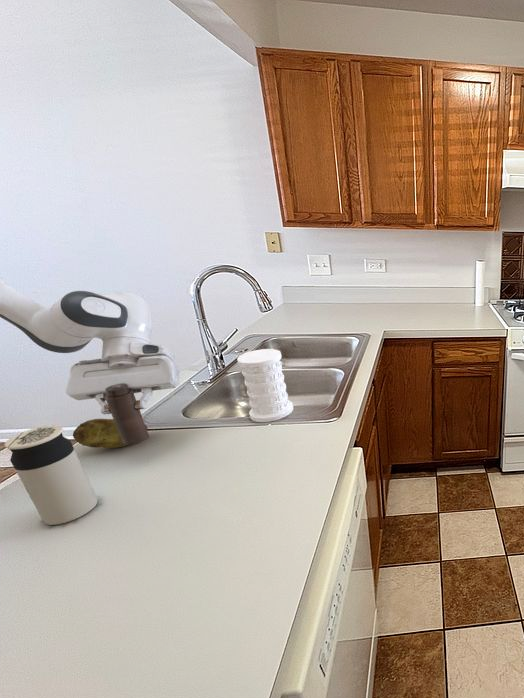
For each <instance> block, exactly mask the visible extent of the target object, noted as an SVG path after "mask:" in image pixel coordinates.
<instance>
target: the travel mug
mask: <svg viewBox="0 0 524 698" xmlns="http://www.w3.org/2000/svg"><path fill="white" fill-rule="evenodd" d="M63 430H64V428H63V427H62V426H60V425H57V424H56V425H54V424H53V425H52V424H51V425H44V426H39V427H34V428H31V429H28V430H25V431H22V432H19V433H18V434H17V433H16V435H13V436H12V437H10V438H8V439H7V440H6V441H5V442H4V447H5V448H6V449H8V450H9V451H10V452H11V456H10V460H9V461H10V463H11V465H12V467H13V468H14V471H15V472H16V474H17V476H18V478H19V479H20V481H21V483H22V485H23V487H24V488H25V490H26V492H27V494H28V496H29V498H30V500H31V501H32V503H33V505H34V507H35V508H36V509H35V510H37V512H38V515H39V516H40V518H41V520H42V521H43V523H44V524H45V525H48V526H52V525H56V526H57V525H62V524H65V523H68V522H71V521H74V520H77V519H78V518H81V517H83V516H84V515H86V514H87V513H89V512H90V511H92V510H93V509H94V508H95V507H96V505H97V504H98V501H99V500H98V496H97V495H96V493H95V490H94V489H93V486H92V485H91V482H90V480H89V477H88V475H87V473H86V472H85V469H84V467H83V465H82V463H81V461H80V459H79V456H78V454H77V451H76V450H75V447H74V446H73V443H72V440H70V439H68V438H67V437H65V436H64V435H63Z"/></svg>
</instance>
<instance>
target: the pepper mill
mask: <svg viewBox="0 0 524 698" xmlns="http://www.w3.org/2000/svg"><path fill="white" fill-rule="evenodd" d="M105 391H106V393H107V394H106V395H105V399H106V401H105V402H106V403H107V404H108V407H109V409H110V412H111V414H110V415H111V417H112V419H114V422H115V424H116V427H117V429H118V432H119V434H120V437H121V439H122V442H123V443H124V444H129V445H134V444H139V443H141V442H143V441H145V440H146V439H148V437H149V431H147V429H146V426H147V425H146V423H145V421H144V417H143V415H142V412H141V409H139V410H137V409H136V408H135V401H137V399H136V395H135V393H133V390H132V389H129V388H128V385H127V384H124V383H122V384H115V385H112V386H109V387H107V388H106V389H105ZM145 425H146V426H145Z"/></svg>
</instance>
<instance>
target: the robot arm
mask: <svg viewBox="0 0 524 698" xmlns="http://www.w3.org/2000/svg"><path fill="white" fill-rule="evenodd" d="M152 314H153V313H152V309H151V306H150V305H149V303H148V302H147V300H146V299H145V298H143V297H142V296H140V295H138V294H135V293H131V292H128V291H127V292H126V291H118V292H114V293H109V294H107V293H106V294H102V293H95V292H92V291H88V290H74V291H71V292H68V293H66V294H65V295H63V296H62V297H61V298H59V299H58V300H57V301H55V302H54V303H53V304H52V305H51V306H50V307H45V306H43V305H41V304H39V303H37V302H36V301H35V300H33V299H31V298H30V297H28V296H26V295H25V294H23V293H22V292H21V291H19V290H17V289H16V288H14V287H12V286H11V285H10V284H8V283H6V281H4V280H3V279H2V278H1V277H0V319H3V320H4V321H6V322H7V323H9V324H11V325H13V326H14V327H16V328H17V329H19V330H20V331H21V332H23V333H24V334H25V335H26V336H27V337H28V338H29V339H30V340H31V341H32V342H33V343H34V344H36V345H37V346H39V347H40V348H42V349H44V350H46V351H50V352H53V353H58V354H71V353H76V352H79V351H81V350H82V349H84V348H85V347H86V346H87V345H88V344H89V343H90V342H91V341H93V340H94V339H95V338H96V339H100V340H101V341H102V350H101V358H96V359H89V360H88V359H86V360H85V359H84V360H80V361H78V362H77V363H75V364H73V365H71V367H70V370H69V377H68V381H67V384H66V388H65V393H66V395H67V396H68V397H70V398H72V399H74V400H76V401H84V400H92V399H93V400H94V399H95V400H96V402H97V403H98V404H99V406H100V413H101V414H102V415H112V414H111V412H110V409H109V407H108V404H107V402H106V399H105V395H106V394H107V393H106V391H105V389H106V388H107V387H109V386H112V385H115V384H122V383H124V384H127V385H128V388H129V389H132V390H133V393H134V394H138V393H142V395H141V397H140V398H139V399H138V400H137V399H136V401H135V408H136V409H137V410H139V409H140V410H145V409H146V408H147V402H148V401H149V400H150V399H151V397H152V396H153V392H154V391H160V390H161V391H163V390H170V389H175V388H177V387H178V386H179V385H180V372H179V368H178V366H177V364H176V363H175V360H176V357H175V356H174V354H173V353H172V352H171V351H170V349H168V348H167V347H165V346H164V345H161V344H153V343H152V342H151V339H150V338H151V335H152V333H153V316H152Z"/></svg>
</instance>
